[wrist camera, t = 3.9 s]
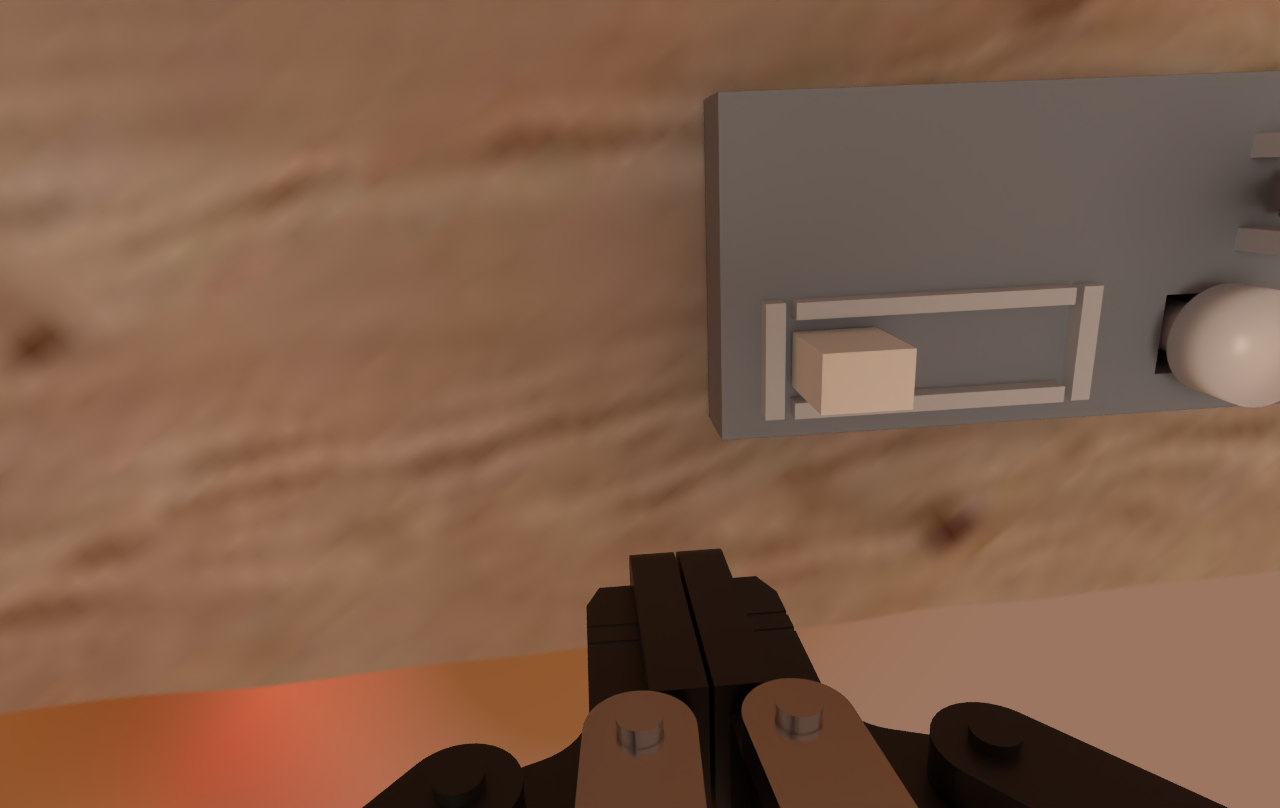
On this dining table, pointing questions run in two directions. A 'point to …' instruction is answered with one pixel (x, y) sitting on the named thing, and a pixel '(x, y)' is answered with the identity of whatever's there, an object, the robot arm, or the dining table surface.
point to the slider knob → (853, 370)
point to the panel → (982, 238)
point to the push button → (1226, 343)
